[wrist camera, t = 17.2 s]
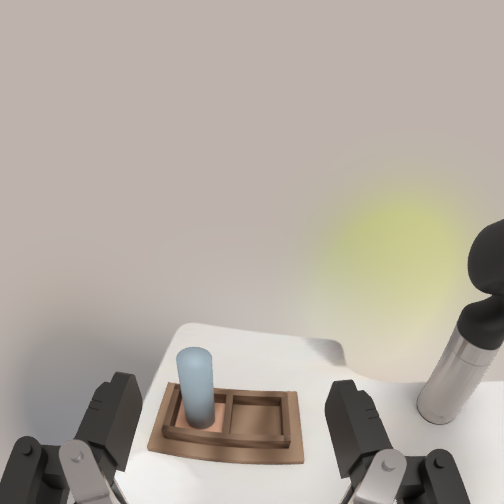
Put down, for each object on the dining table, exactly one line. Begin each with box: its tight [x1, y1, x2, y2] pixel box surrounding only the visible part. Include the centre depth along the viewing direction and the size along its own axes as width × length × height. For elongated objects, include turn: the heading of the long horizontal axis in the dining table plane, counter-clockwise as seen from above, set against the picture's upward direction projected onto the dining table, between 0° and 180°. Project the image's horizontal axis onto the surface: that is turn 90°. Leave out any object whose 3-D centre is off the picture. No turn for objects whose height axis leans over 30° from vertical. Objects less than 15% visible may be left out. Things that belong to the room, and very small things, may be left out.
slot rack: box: [147, 382, 304, 464], centre depth 36 cm, size 22×14×4 cm, turn 88°
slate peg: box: [176, 347, 215, 429], centre depth 34 cm, size 4×4×13 cm
